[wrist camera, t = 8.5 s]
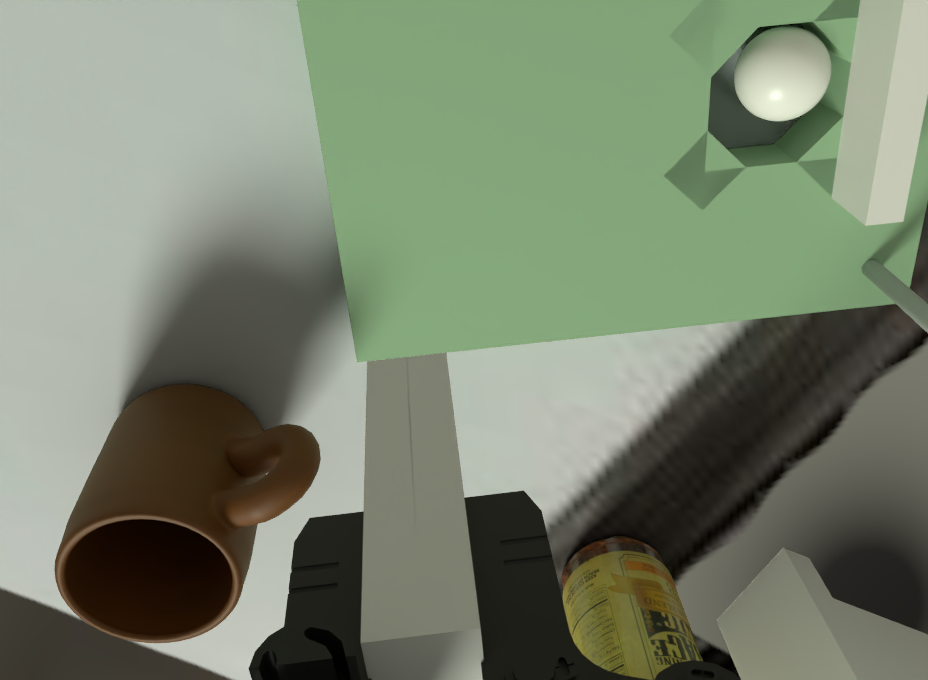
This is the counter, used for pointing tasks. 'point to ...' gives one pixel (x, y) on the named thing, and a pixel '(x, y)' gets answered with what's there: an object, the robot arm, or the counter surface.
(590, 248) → the green
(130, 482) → the mug
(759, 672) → the paper towel holder
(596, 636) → the sauce bottle
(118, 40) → the counter surface
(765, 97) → the ball
